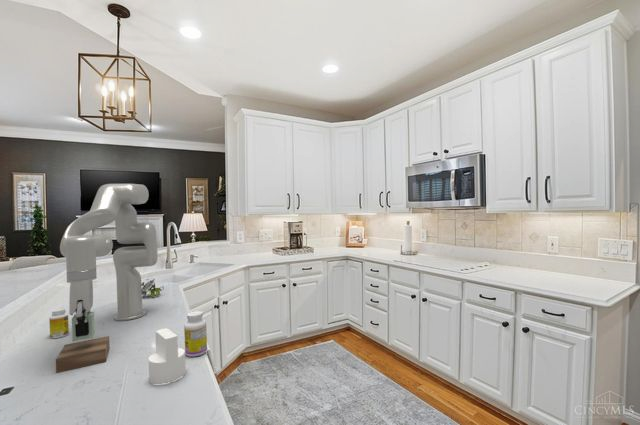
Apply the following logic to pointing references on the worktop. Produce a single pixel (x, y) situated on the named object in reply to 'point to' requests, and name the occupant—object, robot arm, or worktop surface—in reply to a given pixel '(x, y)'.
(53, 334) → the supplement bottle
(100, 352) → the walnut base
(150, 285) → the passion flower
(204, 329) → the supplement bottle
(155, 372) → the base with upright slab
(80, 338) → the sage block
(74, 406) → the worktop surface
